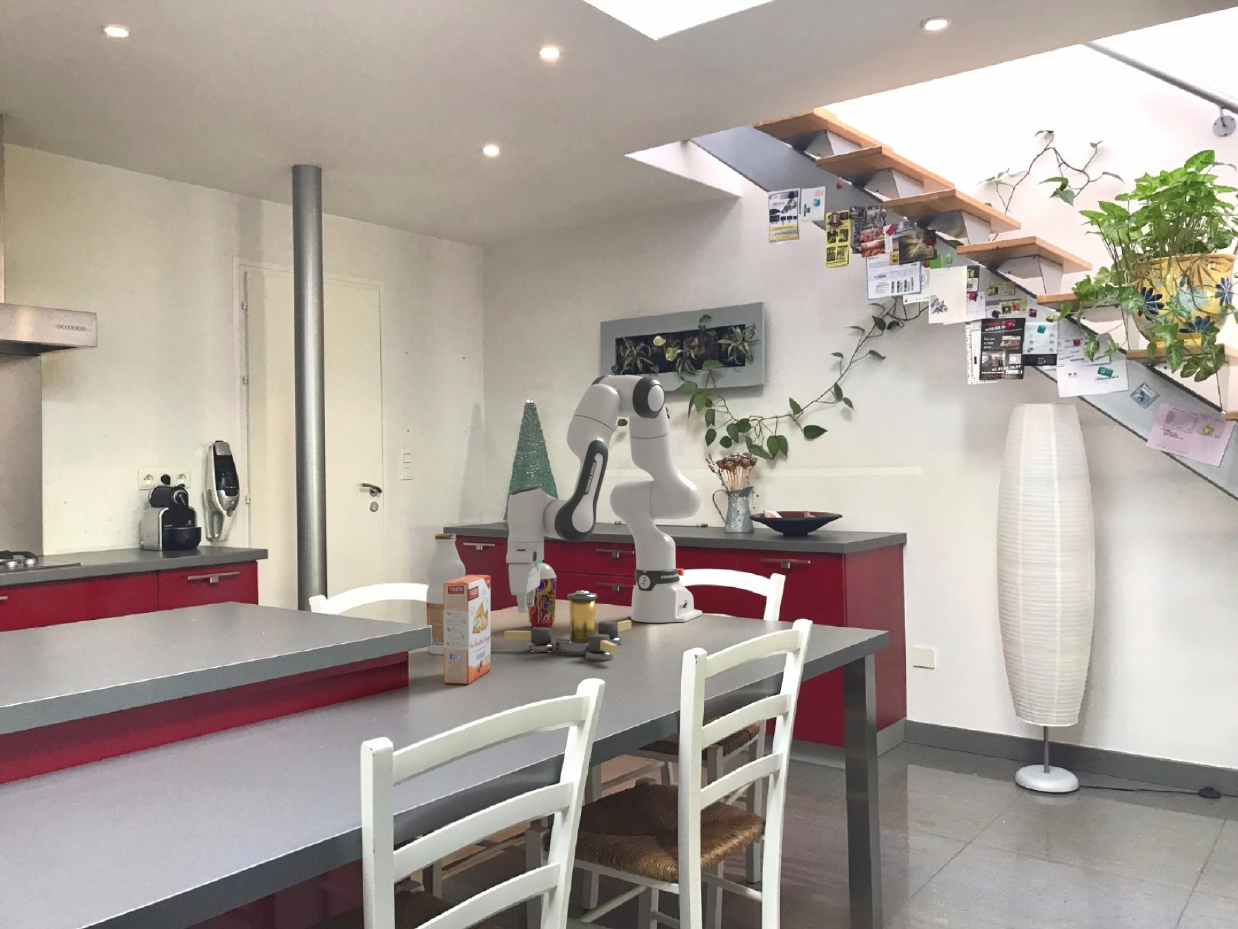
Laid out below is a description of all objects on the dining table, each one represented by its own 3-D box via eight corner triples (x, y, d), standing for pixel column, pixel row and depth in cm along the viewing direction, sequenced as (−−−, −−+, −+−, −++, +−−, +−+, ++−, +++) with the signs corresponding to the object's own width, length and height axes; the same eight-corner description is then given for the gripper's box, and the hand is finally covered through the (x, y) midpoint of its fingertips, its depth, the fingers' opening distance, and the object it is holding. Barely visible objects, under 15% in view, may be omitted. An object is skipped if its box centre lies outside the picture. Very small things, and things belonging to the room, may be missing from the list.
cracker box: (470, 685, 200) (469, 582, 200) (442, 684, 201) (440, 582, 201) (493, 670, 213) (491, 574, 213) (466, 669, 215) (465, 573, 214)
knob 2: (585, 649, 226) (585, 635, 226) (604, 647, 228) (604, 633, 228) (604, 658, 215) (604, 643, 215) (624, 656, 217) (624, 641, 217)
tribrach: (578, 637, 251) (577, 580, 251) (655, 646, 237) (655, 587, 237) (522, 651, 234) (521, 590, 234) (602, 662, 220) (601, 598, 220)
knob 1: (553, 640, 237) (552, 627, 237) (549, 644, 232) (549, 630, 232) (507, 640, 238) (507, 627, 238) (502, 644, 233) (502, 630, 233)
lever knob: (610, 638, 238) (610, 625, 238) (594, 636, 241) (594, 623, 241) (636, 631, 247) (636, 618, 247) (621, 629, 250) (621, 617, 250)
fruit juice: (439, 657, 228) (437, 536, 228) (420, 651, 236) (418, 534, 235) (474, 651, 234) (472, 534, 234) (454, 646, 242) (452, 531, 241)
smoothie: (556, 629, 263) (554, 554, 263) (524, 629, 263) (523, 554, 263) (558, 623, 272) (557, 551, 271) (528, 624, 272) (527, 551, 272)
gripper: (521, 549, 252) (521, 603, 252) (504, 556, 232) (504, 615, 232) (545, 549, 252) (546, 604, 252) (530, 556, 231) (531, 615, 231)
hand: (526, 609), depth 242 cm, fingers open, 8 cm apart
